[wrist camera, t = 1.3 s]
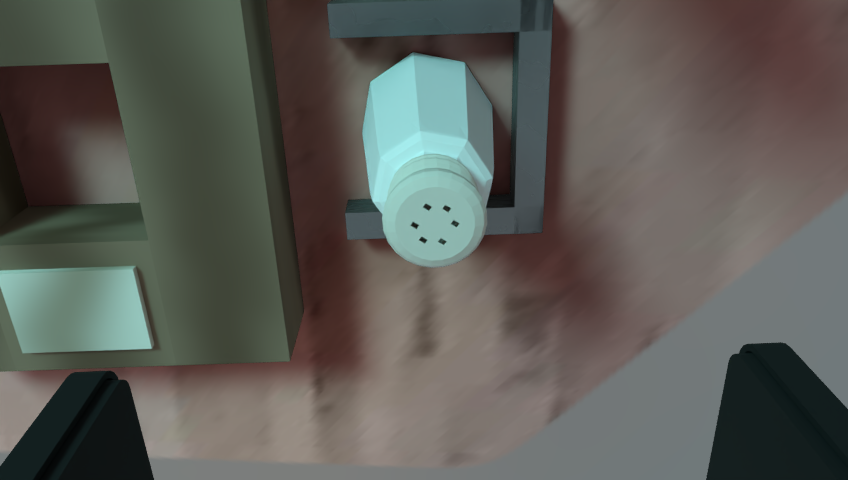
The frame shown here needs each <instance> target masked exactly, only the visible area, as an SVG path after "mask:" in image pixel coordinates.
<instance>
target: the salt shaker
mask: <svg viewBox="0 0 848 480" xmlns="http://www.w3.org/2000/svg"><path fill="white" fill-rule="evenodd" d="M362 133H363V141H364V149H365V157H366V164H367V172H368V180H369V188H370V194H371V198H372V201H373V203H374V204H375V205H376V207H377V208H378V209H379V211H380V212H381V213H382V215H383V216H382V222H383V231H384V234H385V236H386V238H387V241H388V243H389V244H390V246H391V247H392V248H393V249H394V251H395V252H396V253H397V254H399V255H400V256H401V257H402V258H404V259H405V260H407V261H409V262H411V263H414V264H416V265H418V266H424V267H430V268H434V267H445V266H449V265H452V264H455V263H458V262H459V261H461V260H463V259H464V258H466V257H468V256H469V255H470V254H471V253H472V252H473V251H474V250H475V249H476V248H477V247H478V245H479V244H480V242H481V240H482V238H483V237H484V234H485V230H486V226H487V210H486V205H487V201H488V197H489V193H490V189H491V185H492V180H493V173H494V152H493V116H492V104H491V103H490V101H489V100H488V98H487V96H486V95H485V93H484V92H483V90H482V89H481V87H480V85H479V84H478V82H477V81H476V79H475V78H474V76H473V74H472V73H471V71H470V70H469V68H468V67H467V65H466V64H465V62H461V61H456V60H451V59H445V58H440V57H435V56H430V55H425V54H420V53H415V52H413V53H411V54H410V55H408V56H407V57H406V58H404V59H403V60H401V61H400V62H398V63H397V64H395V65H394V66H393V67H391V68H390V69H388V70H387V71H385V72H384V73H383V74H381V75H380V76H378V77H377V78H375V79H374V80H373V81H371V82H370V87H369V93H368V99H367V106H366V112H365V118H364V124H363V131H362Z"/></svg>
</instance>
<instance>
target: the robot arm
mask: <svg viewBox="0 0 848 480" xmlns="http://www.w3.org/2000/svg"><path fill="white" fill-rule="evenodd" d="M0 480H154V478H153V474H152V470H151V466H150V462H149V458H148V455H147V451H146V447H145V443H144V439H143V435H142V432H141V428H140V424H139V420H138V416H137V412H136V409H135V405H134V401H133V397H132V393H131V389H130V386H129V384H128V382H127V381H126V380H118V377H117V375H116V374H115V373H114V372H112V371H93V372H75V373H71V374H70V375H69V376H68V377H67V378H66V379H65V381H64V382H63V383H62V385H61V386H60V387H59V389H58V390H57V391H56V393H55V394H54V395H53V397H52V398H51V399H50V401H49V402H48V403H47V405H46V406H45V407H44V409H43V410H42V411H41V413H40V414H39V415H38V417H37V418H36V419H35V421H34V422H33V423H32V425H31V426H30V427H29V429H28V430H27V431H26V433H25V434H24V435H23V437H22V438H21V439H20V441H19V442H18V443H17V445H16V446H15V447H14V449H13V450H12V451H11V453H10V454H9V455H8V457H7V458H6V459H5V461H4V462H3V463H2V465H1V466H0ZM706 480H848V409H847V408H846V407H845V406H844V405H843V404H842V403H841V401H840V400H839V399H838V398H837V397H836V396H835V395H834V394H833V393H832V392H831V391H830V390H829V388H828V387H827V386H826V385H825V384H824V383H823V382H822V381H821V380H820V379H819V378H818V377H817V376H816V374H815V373H814V372H813V371H812V370H811V369H810V368H809V367H808V366H807V365H806V364H805V363H804V361H803V360H802V359H801V358H800V357H799V356H798V355H797V354H796V353H795V352H794V351H793V350H792V349H791V348H790V347H789V346H788V345H787V344H785V343H761V344H746V345H744V346H743V347H742V348H741V350H740V353H739V354H734V355H732V356H731V357H730V360H729V363H728V369H727V374H726V379H725V384H724V390H723V394H722V400H721V405H720V410H719V415H718V421H717V426H716V431H715V437H714V442H713V447H712V452H711V458H710V463H709V468H708V473H707V478H706Z"/></svg>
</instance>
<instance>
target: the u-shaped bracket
mask: <svg viewBox="0 0 848 480" xmlns="http://www.w3.org/2000/svg"><path fill="white" fill-rule="evenodd" d="M327 8H328V20H329V31H330V38H353V37H382V36H412V35H441V34H470V33H500V32H514V43H513V84H512V124H511V165H510V194H505V195H489V197H488V201H487V205H486V210H487V226H486V230H485V234H484V235H494V234H523V233H542V229H543V208H544V187H545V166H546V145H547V124H548V103H549V82H550V61H551V40H552V19H553V0H331V1H330V2H329V3H328V4H327ZM382 216H383V215H382V213H381V212H380V211H379V209H378V208H377V207H376V205H375V204H374V203H373V201H372V199H360V200H348V203H347V208H346V212H345V217H346V228H347V240H350V239H379V238H386V236H385V234H384V231H383V222H382Z"/></svg>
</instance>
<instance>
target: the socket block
mask: <svg viewBox="0 0 848 480" xmlns="http://www.w3.org/2000/svg"><path fill="white" fill-rule="evenodd" d="M89 63H109V67H110V71H111V76H112V80H113V85H114V89H115V93H116V98H117V102H118V107H119V111H120V116H121V120H122V125H123V129H124V134H125V138H126V143H127V147H128V151H129V156H130V160H131V165H132V169H133V174H134V178H135V183H136V187H137V192H138V196H139V201H140V203H119V204H90V205H62V206H33V207H28V204H27V201H26V198H25V194H24V191H23V188H22V184H21V181H20V178H19V174H18V171H17V168H16V164H15V161H14V158H13V154H12V151H11V148H10V144H9V141H8V138H7V134H6V131H5V127H4V124H3V121H2V117H1V114H0V372H1V371H29V370H58V369H86V368H115V367H143V366H172V365H200V364H229V363H257V362H286V361H290V360H291V356H292V352H293V349H294V345H295V342H296V338H297V335H298V331H299V327H300V324H301V320H302V317H303V313H304V307H303V299H302V291H301V283H300V274H299V266H298V258H297V250H296V242H295V234H294V226H293V217H292V209H291V201H290V193H289V185H288V177H287V168H286V160H285V152H284V144H283V136H282V128H281V119H280V111H279V103H278V95H277V87H276V79H275V70H274V62H273V54H272V46H271V38H270V30H269V21H268V13H267V5H266V0H0V67H1V66H30V65H60V64H89Z"/></svg>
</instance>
